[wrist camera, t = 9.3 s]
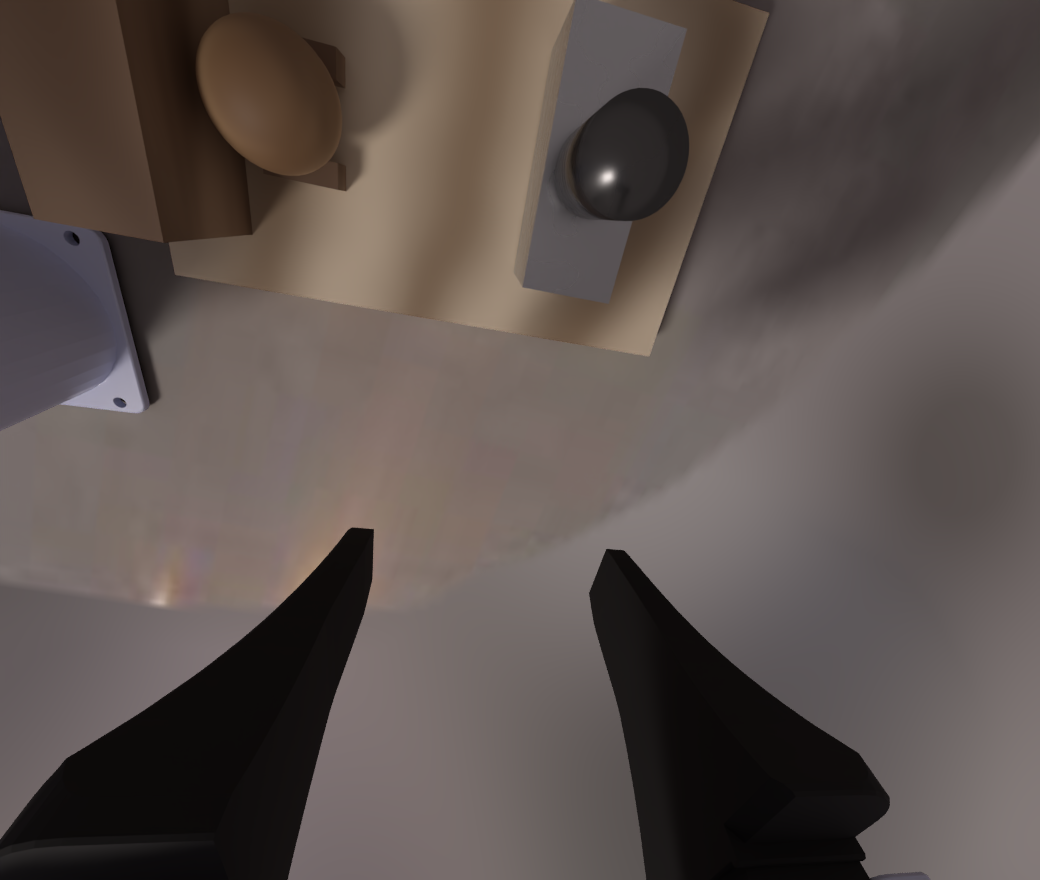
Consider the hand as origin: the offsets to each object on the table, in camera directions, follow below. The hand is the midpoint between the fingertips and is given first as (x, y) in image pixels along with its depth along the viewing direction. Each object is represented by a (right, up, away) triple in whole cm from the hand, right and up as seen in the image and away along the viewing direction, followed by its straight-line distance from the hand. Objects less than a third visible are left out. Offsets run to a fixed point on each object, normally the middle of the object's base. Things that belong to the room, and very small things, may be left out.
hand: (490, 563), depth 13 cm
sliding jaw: (+3, +14, +3) cm, 14 cm away
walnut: (-6, +14, -1) cm, 15 cm away
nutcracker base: (-2, +15, +3) cm, 15 cm away
